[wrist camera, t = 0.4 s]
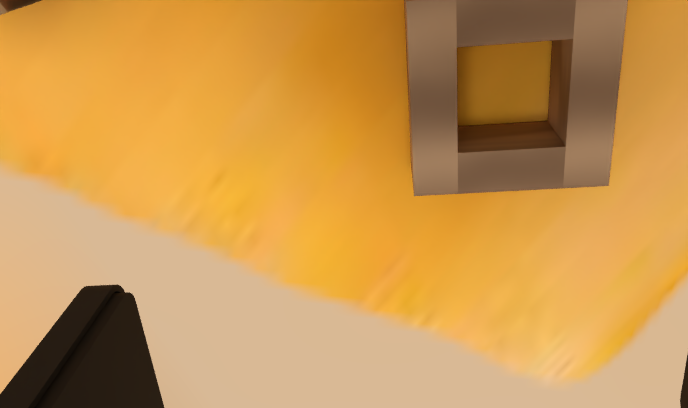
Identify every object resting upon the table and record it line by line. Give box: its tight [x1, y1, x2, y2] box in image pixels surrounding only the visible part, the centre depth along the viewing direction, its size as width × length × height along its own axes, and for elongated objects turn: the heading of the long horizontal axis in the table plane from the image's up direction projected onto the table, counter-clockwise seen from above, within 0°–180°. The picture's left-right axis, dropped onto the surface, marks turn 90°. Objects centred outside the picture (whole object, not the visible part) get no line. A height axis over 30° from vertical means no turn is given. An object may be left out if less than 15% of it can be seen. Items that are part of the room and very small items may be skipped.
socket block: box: [404, 0, 628, 196], centre depth 33 cm, size 10×10×4 cm
